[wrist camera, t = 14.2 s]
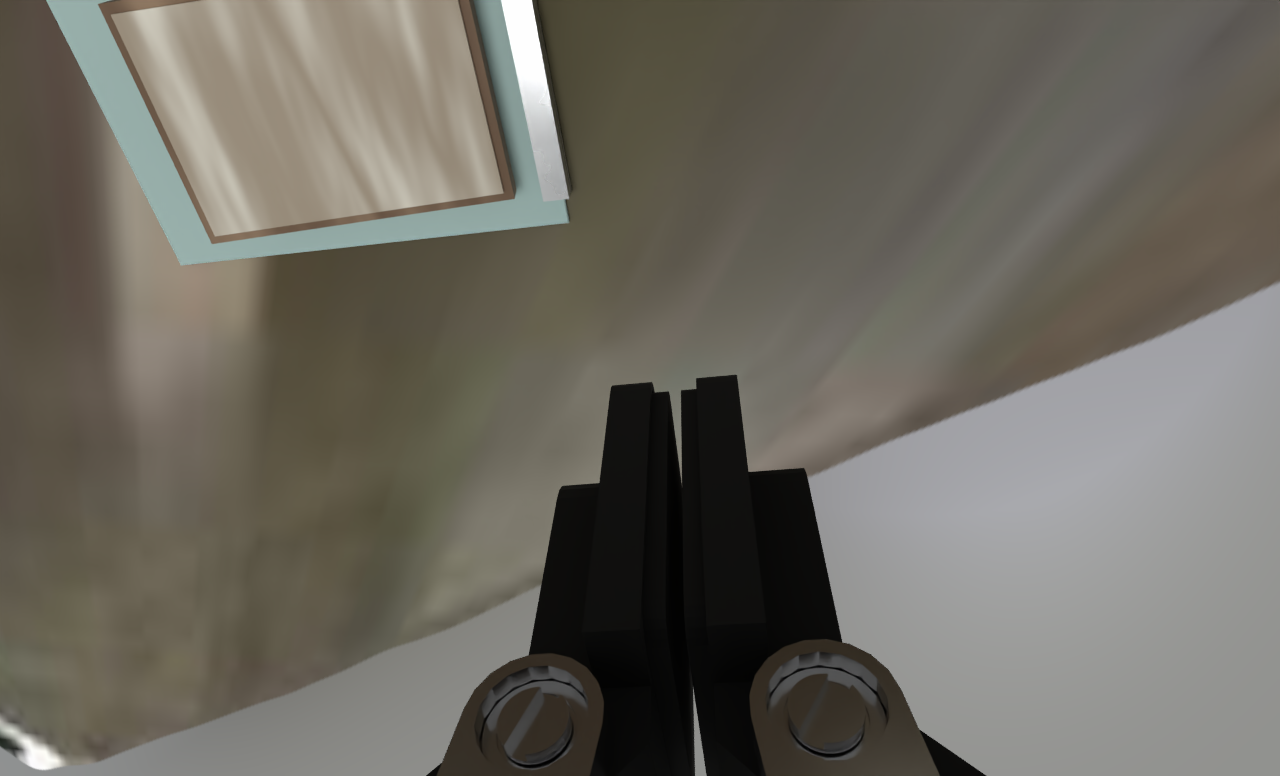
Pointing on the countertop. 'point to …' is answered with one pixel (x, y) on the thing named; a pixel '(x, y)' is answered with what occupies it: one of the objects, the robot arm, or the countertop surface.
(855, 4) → the countertop surface
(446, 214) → the mat
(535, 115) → the rail
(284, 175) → the walnut board
